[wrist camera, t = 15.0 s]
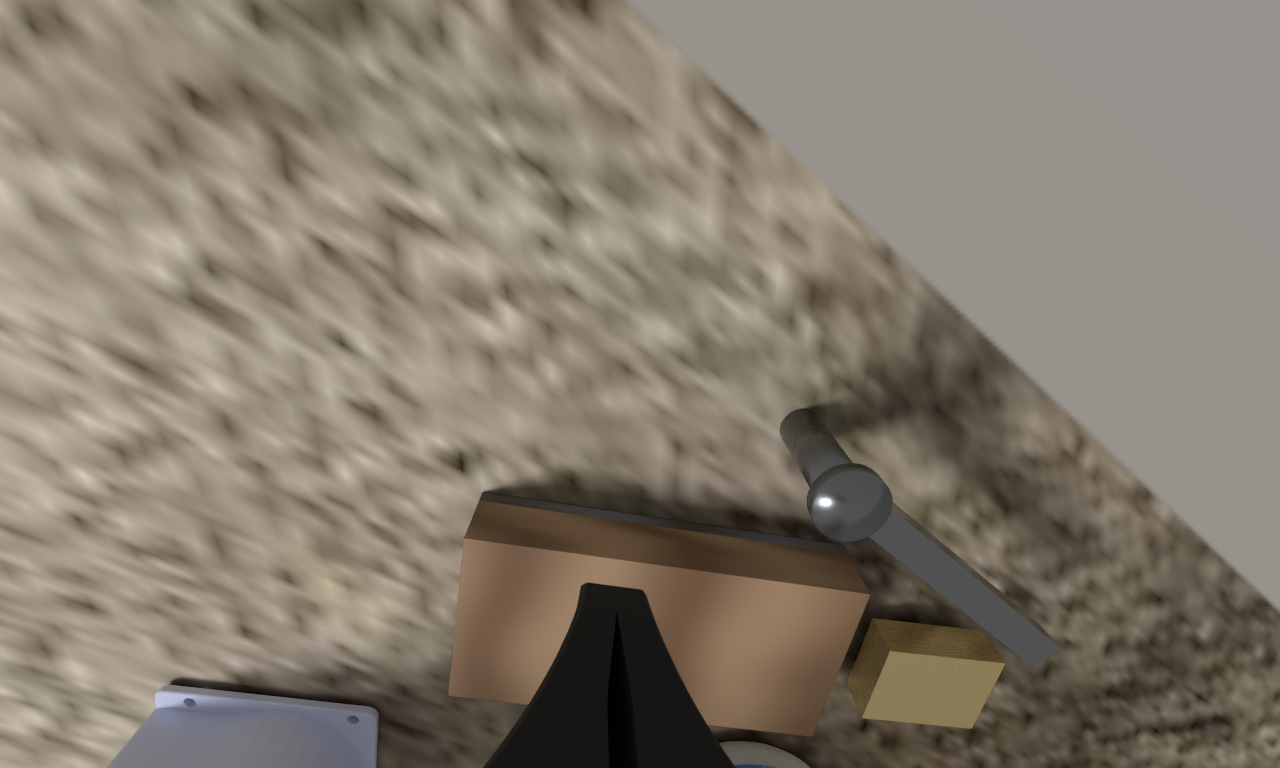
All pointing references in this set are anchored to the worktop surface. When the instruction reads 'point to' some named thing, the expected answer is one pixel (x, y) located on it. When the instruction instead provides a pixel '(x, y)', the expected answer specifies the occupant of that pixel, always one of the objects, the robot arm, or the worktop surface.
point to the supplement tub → (759, 755)
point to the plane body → (658, 606)
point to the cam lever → (900, 535)
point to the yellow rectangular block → (924, 673)
